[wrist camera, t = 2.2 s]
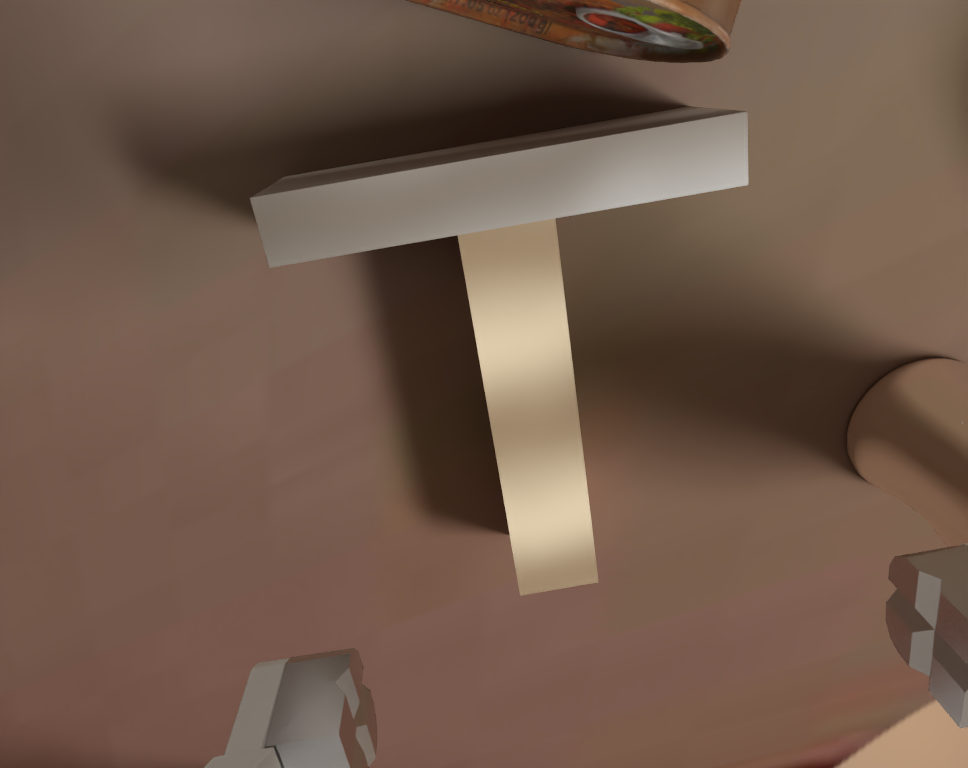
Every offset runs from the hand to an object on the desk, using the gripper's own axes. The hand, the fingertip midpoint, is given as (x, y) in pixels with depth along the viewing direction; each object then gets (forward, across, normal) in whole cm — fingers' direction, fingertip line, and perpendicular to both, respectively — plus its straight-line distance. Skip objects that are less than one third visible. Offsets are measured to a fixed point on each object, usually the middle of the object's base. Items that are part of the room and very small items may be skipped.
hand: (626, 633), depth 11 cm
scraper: (+17, 0, -2) cm, 17 cm away
